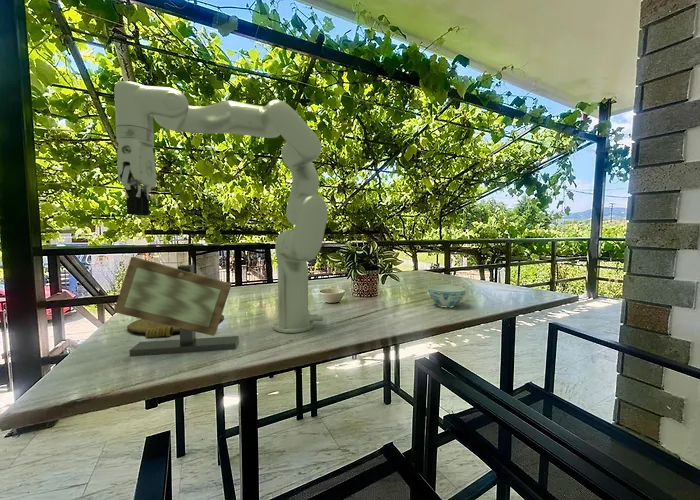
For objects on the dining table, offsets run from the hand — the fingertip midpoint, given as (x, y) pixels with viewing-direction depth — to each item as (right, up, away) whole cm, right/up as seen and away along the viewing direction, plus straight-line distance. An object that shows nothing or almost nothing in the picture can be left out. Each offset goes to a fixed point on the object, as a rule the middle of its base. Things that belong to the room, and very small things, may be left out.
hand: (138, 214), depth 77 cm
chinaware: (+92, -32, +54) cm, 111 cm away
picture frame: (+5, -27, +3) cm, 28 cm away
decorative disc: (-6, -34, +29) cm, 45 cm away
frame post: (+9, -35, +7) cm, 37 cm away
